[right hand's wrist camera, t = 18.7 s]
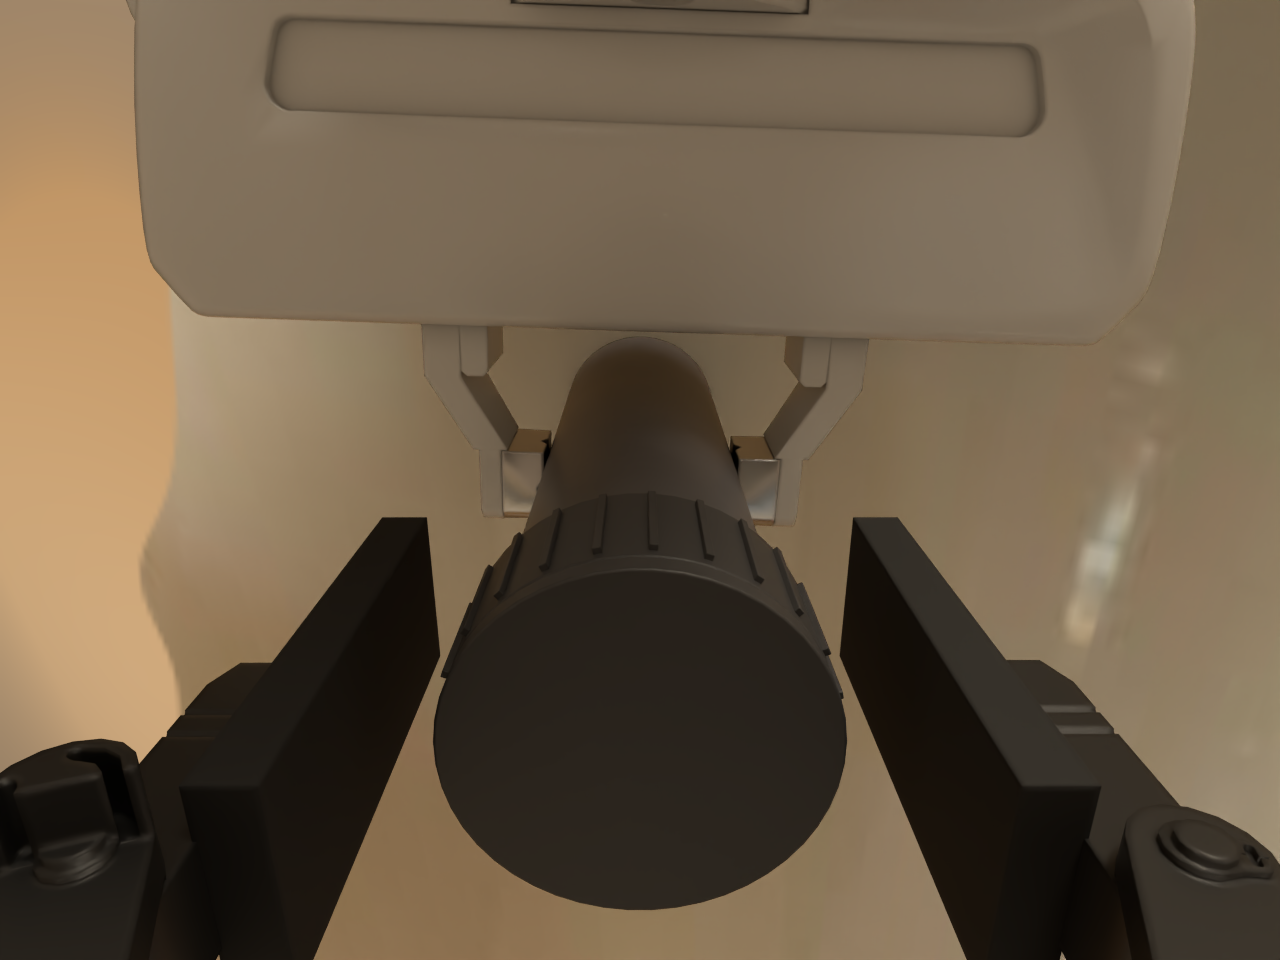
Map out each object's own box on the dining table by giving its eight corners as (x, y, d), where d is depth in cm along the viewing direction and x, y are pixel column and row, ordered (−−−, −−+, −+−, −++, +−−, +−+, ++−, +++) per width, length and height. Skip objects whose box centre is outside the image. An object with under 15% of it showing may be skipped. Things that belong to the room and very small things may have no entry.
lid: (879, 578, 12) (935, 671, 10) (712, 831, 14) (726, 963, 11) (551, 426, 11) (529, 490, 9) (416, 715, 13) (367, 832, 11)
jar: (644, 500, 27) (649, 895, 12) (539, 411, 26) (405, 724, 11) (740, 402, 26) (876, 706, 11) (635, 305, 25) (628, 495, 10)
